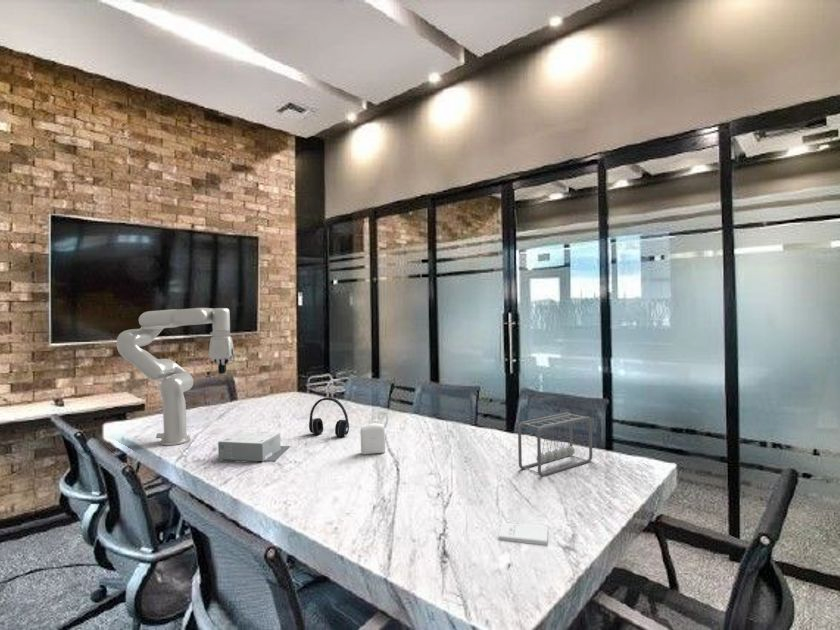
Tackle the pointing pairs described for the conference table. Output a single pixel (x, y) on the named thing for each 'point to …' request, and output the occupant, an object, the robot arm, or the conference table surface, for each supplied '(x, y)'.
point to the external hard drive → (524, 533)
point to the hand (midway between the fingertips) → (222, 373)
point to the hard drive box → (249, 446)
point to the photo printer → (372, 438)
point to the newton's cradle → (555, 453)
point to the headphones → (317, 423)
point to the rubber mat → (272, 458)
